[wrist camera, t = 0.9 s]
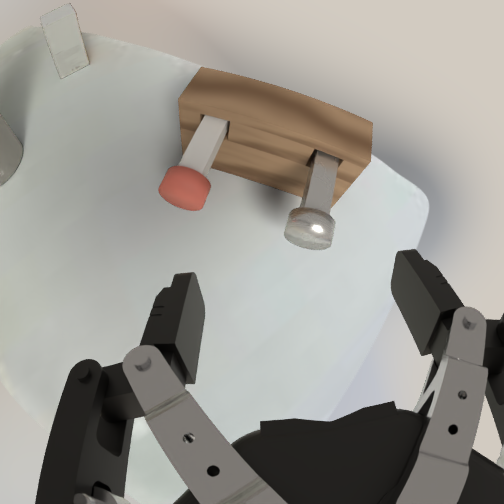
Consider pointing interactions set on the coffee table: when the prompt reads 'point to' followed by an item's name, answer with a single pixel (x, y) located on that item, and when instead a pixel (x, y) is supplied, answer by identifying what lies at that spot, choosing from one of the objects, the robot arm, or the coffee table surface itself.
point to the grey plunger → (315, 206)
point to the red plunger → (195, 166)
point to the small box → (65, 40)
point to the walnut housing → (274, 131)
